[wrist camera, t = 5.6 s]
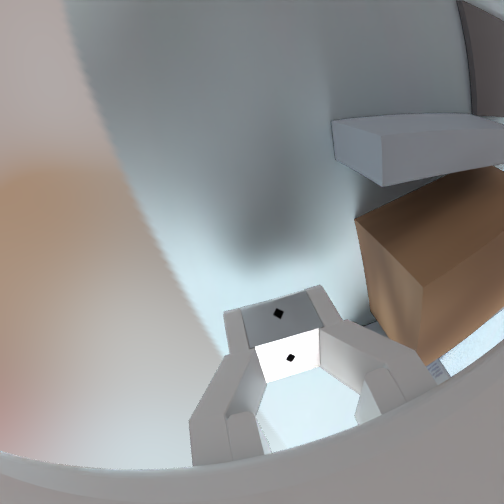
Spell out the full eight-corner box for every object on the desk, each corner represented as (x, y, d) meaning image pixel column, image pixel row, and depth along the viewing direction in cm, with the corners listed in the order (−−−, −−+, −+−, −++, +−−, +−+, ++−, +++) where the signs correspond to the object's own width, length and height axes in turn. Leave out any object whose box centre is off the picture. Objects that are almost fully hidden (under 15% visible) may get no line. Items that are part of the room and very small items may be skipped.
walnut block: (351, 216, 9) (423, 287, 6) (475, 157, 9) (544, 194, 6) (368, 308, 12) (412, 374, 9) (472, 245, 12) (521, 288, 8)
